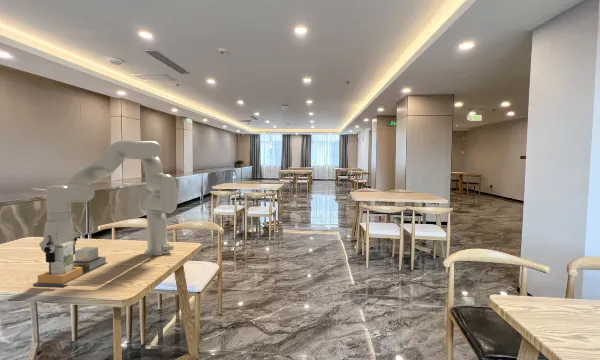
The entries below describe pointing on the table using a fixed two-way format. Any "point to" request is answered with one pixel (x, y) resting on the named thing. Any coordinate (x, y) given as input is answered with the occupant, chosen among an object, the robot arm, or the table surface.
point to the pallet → (68, 274)
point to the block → (86, 255)
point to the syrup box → (62, 259)
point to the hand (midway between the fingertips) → (61, 258)
